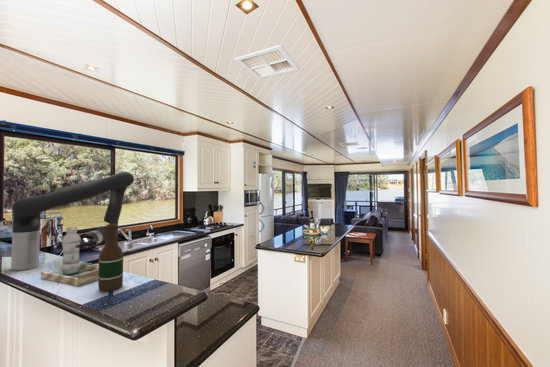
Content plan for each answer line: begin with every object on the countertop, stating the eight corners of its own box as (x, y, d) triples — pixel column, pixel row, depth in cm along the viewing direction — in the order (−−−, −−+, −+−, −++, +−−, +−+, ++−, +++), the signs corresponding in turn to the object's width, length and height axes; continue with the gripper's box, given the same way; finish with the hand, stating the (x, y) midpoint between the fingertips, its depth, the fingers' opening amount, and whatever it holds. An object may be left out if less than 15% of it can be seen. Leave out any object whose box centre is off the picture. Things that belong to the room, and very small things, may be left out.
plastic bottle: (84, 271, 111) (85, 226, 111) (70, 276, 104) (71, 229, 104) (71, 270, 111) (72, 226, 112) (56, 276, 105) (57, 228, 105)
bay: (40, 278, 103) (41, 268, 103) (77, 268, 116) (77, 259, 117) (79, 286, 95) (79, 275, 95) (113, 274, 108) (114, 265, 108)
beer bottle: (127, 285, 96) (128, 223, 96) (108, 293, 88) (109, 226, 89) (112, 283, 98) (113, 222, 99) (92, 290, 91) (94, 225, 92)
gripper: (74, 232, 121) (50, 238, 105) (106, 231, 124) (87, 237, 108) (73, 247, 121) (49, 256, 105) (106, 246, 123) (87, 254, 107)
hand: (68, 246), depth 106 cm, fingers open, 8 cm apart
